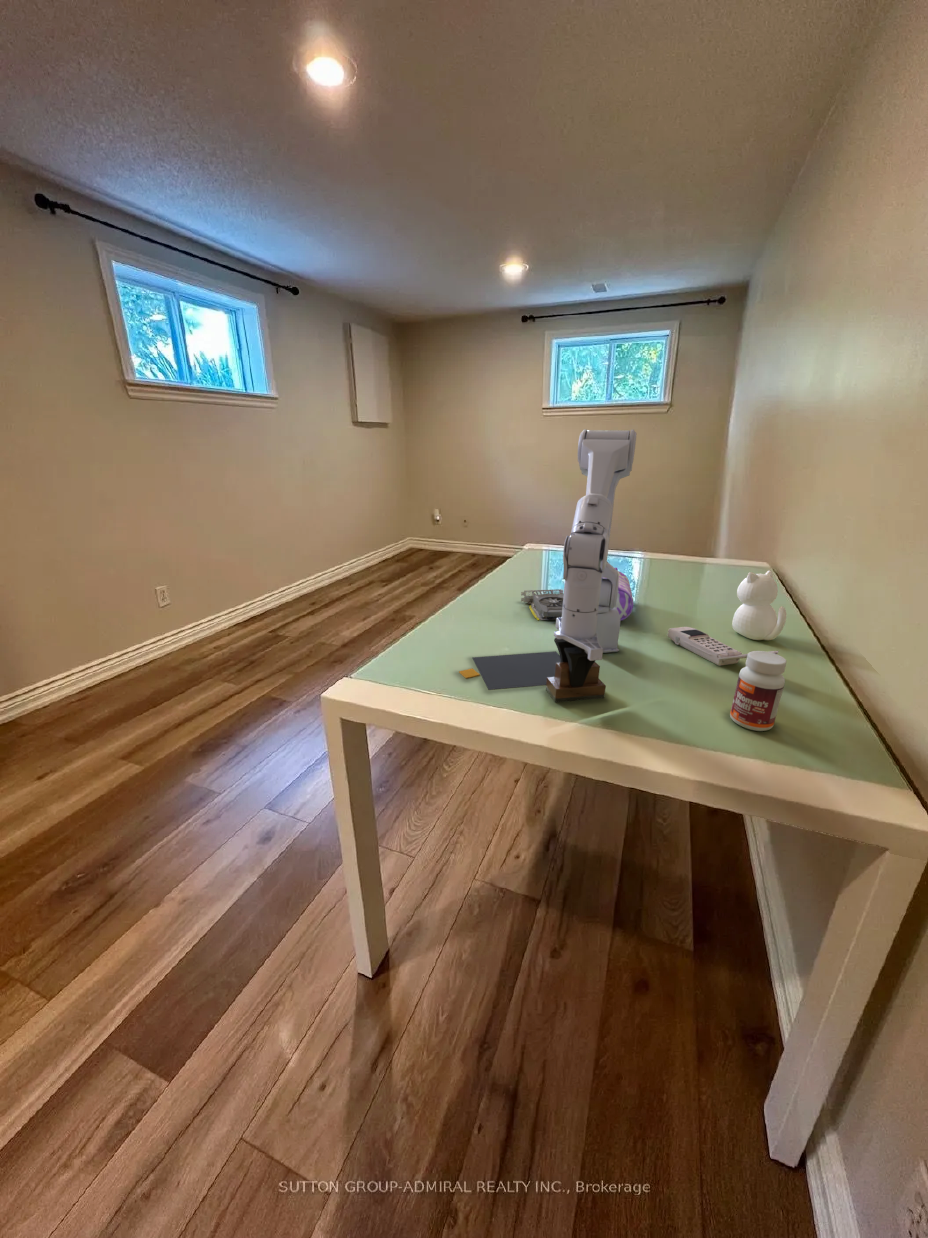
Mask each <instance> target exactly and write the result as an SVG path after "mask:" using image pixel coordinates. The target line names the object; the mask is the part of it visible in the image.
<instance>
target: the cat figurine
mask: <svg viewBox="0 0 928 1238" xmlns="http://www.w3.org/2000/svg"><path fill="white" fill-rule="evenodd" d="M773 575H774V574H773V571H772V570H769V569H768V570H767V571H766V572H765V573H754V572H753V571H751V572H748V574H747V576H746V577H745V578H744V579H742V581H741V582H740V583H739V585H738V587H737V590H736V596H737V598H738V601H740V603H741V605H740V606H739V607H737V608H736V610H735V612H734V614H733V617H732V623H731V627H732V629H733V631H734V632H735V633H737V634H739V635H741V636H743V637H745V638H747V639H750V640H752V641H772V640H775V639H776V638H778V636H779V635H780V634H781V632H782V631H783V629H784V627H785V625H786V621H787V610H786V607H784V606H779V608H778V612H776V610H775V608H774V607H773V606H772V605H771V604H773V602H775V600H776V599H777V596H778V593H779V587H778V583H777V581H776V580H775V579H774V576H773ZM777 613H778V614H777Z"/></svg>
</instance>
